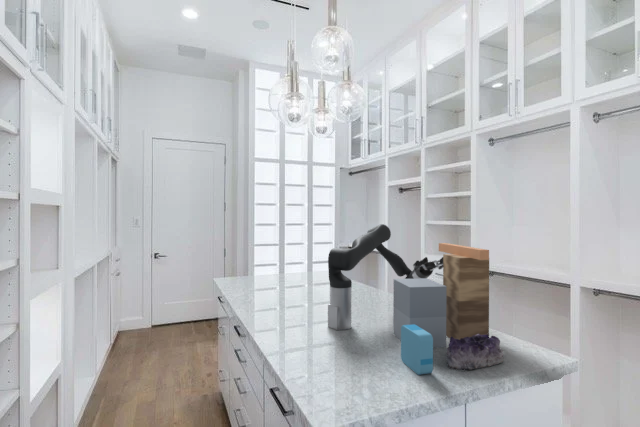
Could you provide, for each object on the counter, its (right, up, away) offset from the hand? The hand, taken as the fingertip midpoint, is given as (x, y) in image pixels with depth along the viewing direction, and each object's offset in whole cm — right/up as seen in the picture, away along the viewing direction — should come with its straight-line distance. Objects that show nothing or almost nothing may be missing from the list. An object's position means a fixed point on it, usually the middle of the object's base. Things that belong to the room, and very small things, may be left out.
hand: (435, 258), depth 160 cm
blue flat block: (-23, -28, -50) cm, 62 cm away
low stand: (-15, -28, -26) cm, 41 cm away
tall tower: (+4, -28, -24) cm, 37 cm away
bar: (+3, +4, -21) cm, 21 cm away
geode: (-3, -28, -47) cm, 54 cm away
